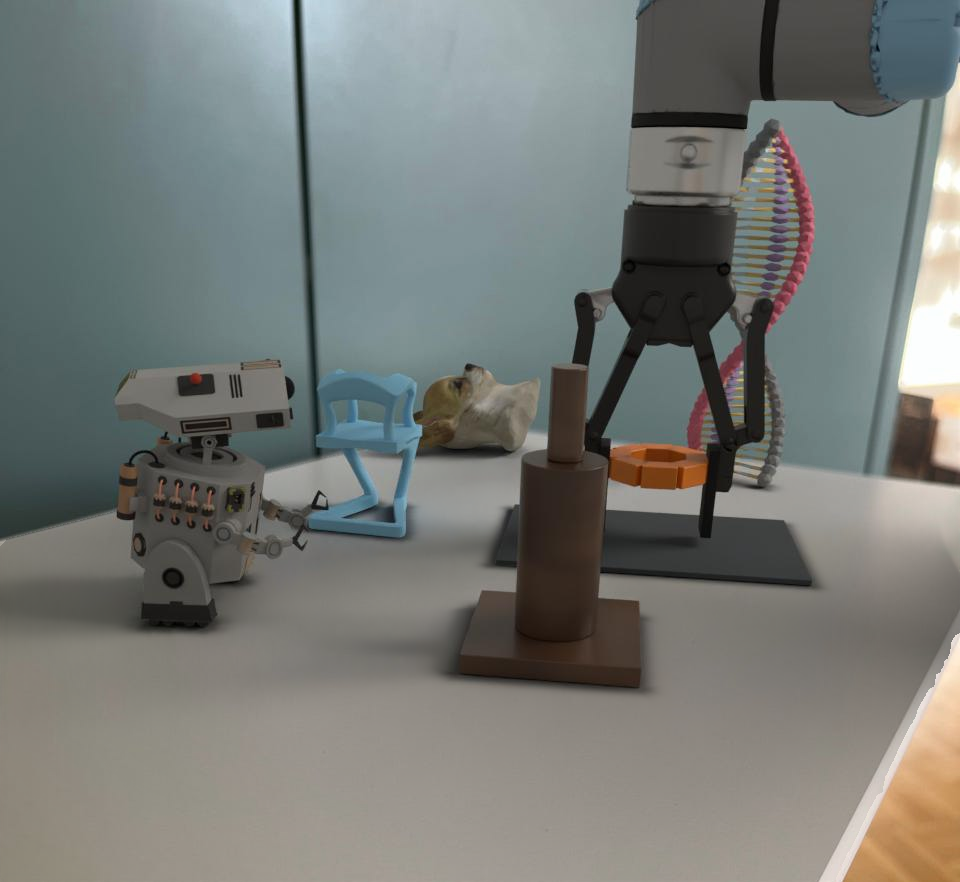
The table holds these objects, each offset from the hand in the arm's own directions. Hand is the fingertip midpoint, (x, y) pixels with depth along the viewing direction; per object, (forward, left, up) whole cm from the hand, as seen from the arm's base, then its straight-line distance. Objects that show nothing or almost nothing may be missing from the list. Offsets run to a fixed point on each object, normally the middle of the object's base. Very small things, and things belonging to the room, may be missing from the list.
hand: (651, 529), depth 79 cm
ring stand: (+6, +20, -1) cm, 21 cm away
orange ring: (0, 0, +4) cm, 4 cm away
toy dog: (+18, -27, -1) cm, 33 cm away
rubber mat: (0, 0, -1) cm, 1 cm away
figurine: (+27, +17, -1) cm, 32 cm away
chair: (+22, -2, -1) cm, 22 cm away
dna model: (-8, -21, -1) cm, 22 cm away
